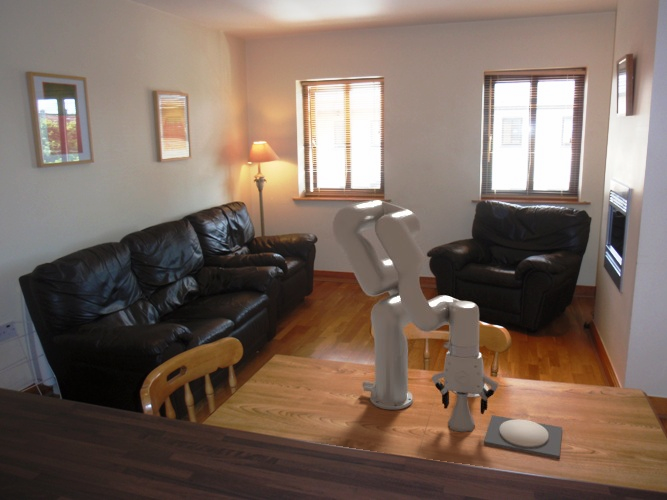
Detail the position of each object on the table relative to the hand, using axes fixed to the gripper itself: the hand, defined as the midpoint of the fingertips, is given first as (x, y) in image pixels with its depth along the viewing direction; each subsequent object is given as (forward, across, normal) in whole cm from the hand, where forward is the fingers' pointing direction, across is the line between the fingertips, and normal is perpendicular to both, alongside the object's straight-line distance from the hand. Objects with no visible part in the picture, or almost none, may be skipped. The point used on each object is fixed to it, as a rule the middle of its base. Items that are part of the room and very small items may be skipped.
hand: (464, 409), depth 154 cm
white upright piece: (+5, -3, +22) cm, 23 cm away
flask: (+5, -1, 0) cm, 5 cm away
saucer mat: (+6, +15, 0) cm, 16 cm away
